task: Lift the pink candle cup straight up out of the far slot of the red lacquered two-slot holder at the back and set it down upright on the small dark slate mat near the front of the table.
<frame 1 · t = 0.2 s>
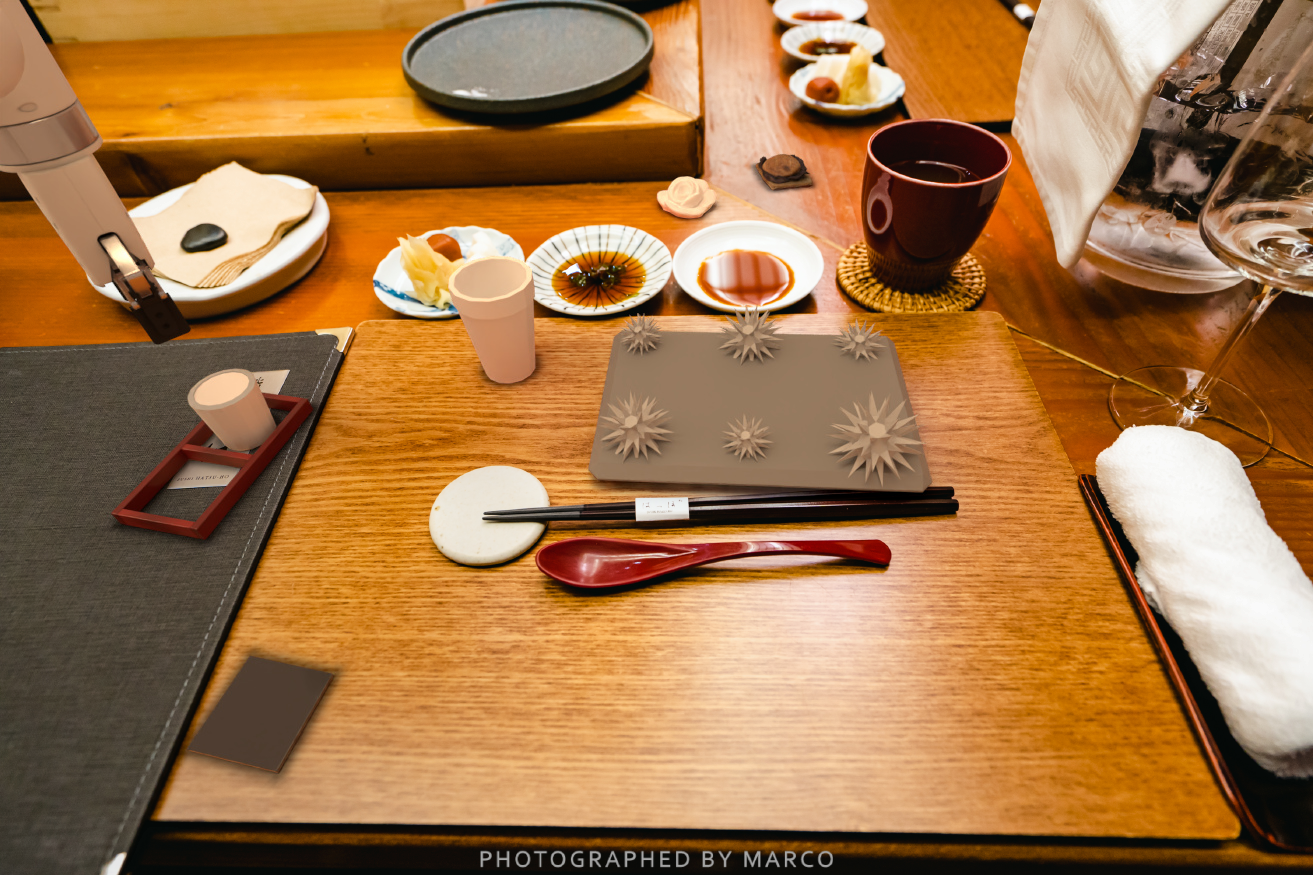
hand: (157, 315, 65), 17 cm above the counter, tool pointing down, fingers open, 9 cm apart
slate mat: (264, 711, 56), on the counter
pink candle cup: (251, 434, 79), resting in holder
holder: (224, 462, 75), on the counter
foam cup: (511, 368, 86), on the counter
decorative tray: (752, 416, 79), on the counter
rose: (686, 206, 115), on the counter
chocolate cookie: (783, 177, 122), on the counter
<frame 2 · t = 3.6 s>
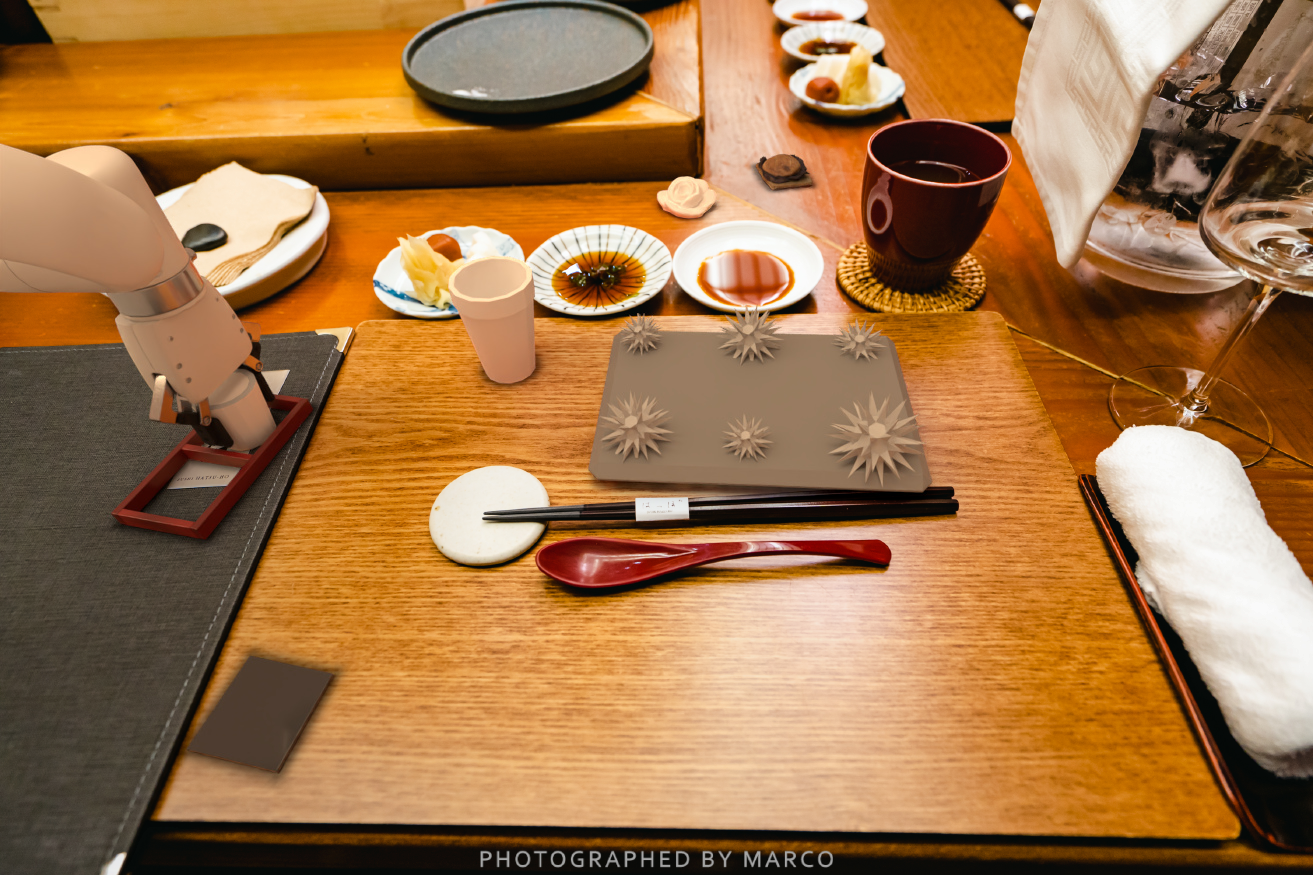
hand: (242, 420, 77), 2 cm above the counter, tool pointing down, fingers closed on pink candle cup, 6 cm apart
pink candle cup: (251, 434, 79), resting in holder, touching gripper
everything else where it was.
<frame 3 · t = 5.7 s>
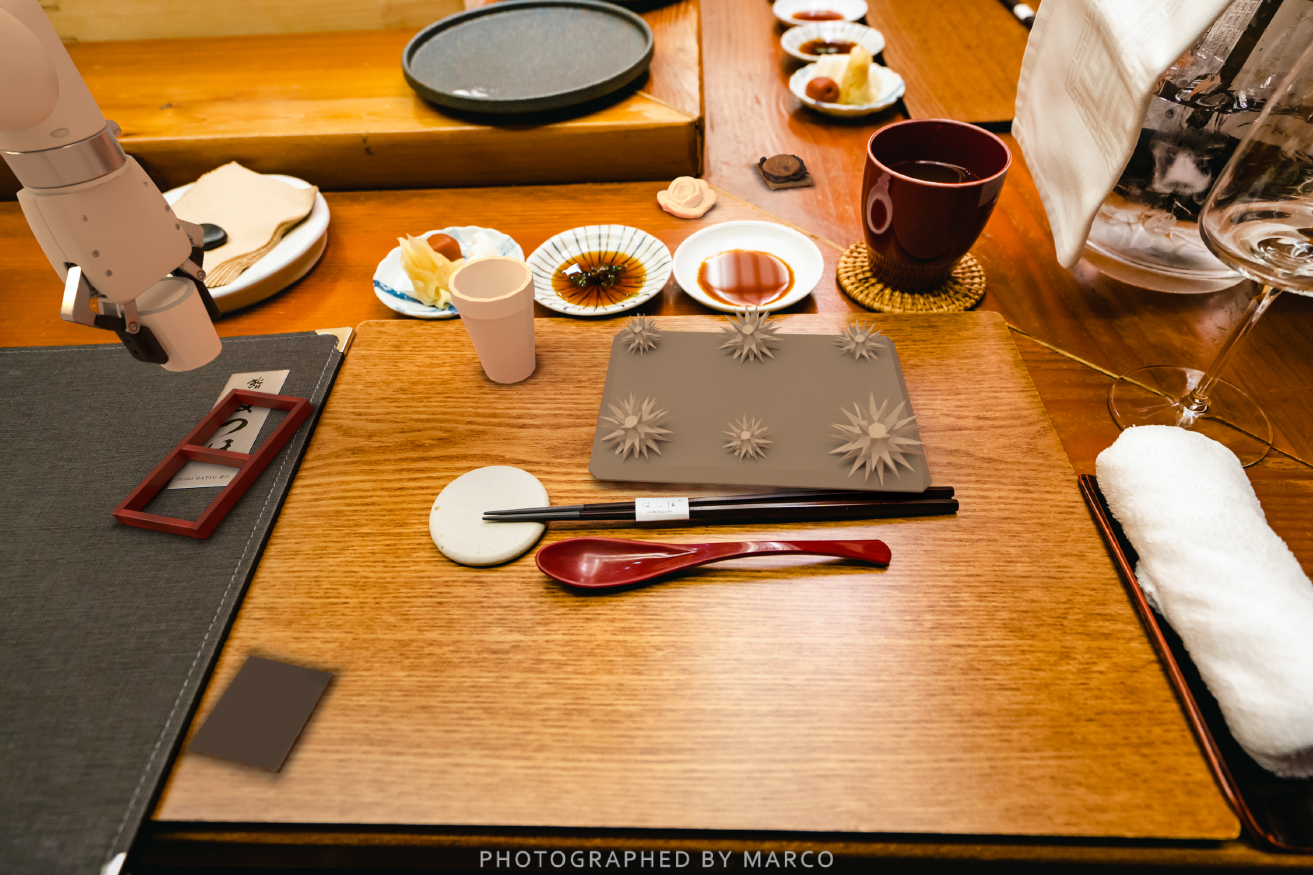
hand: (181, 336, 67), 15 cm above the counter, tool pointing down, fingers closed on pink candle cup, 6 cm apart
pink candle cup: (193, 355, 69), point 12 cm above the counter, touching gripper
everything else where it was.
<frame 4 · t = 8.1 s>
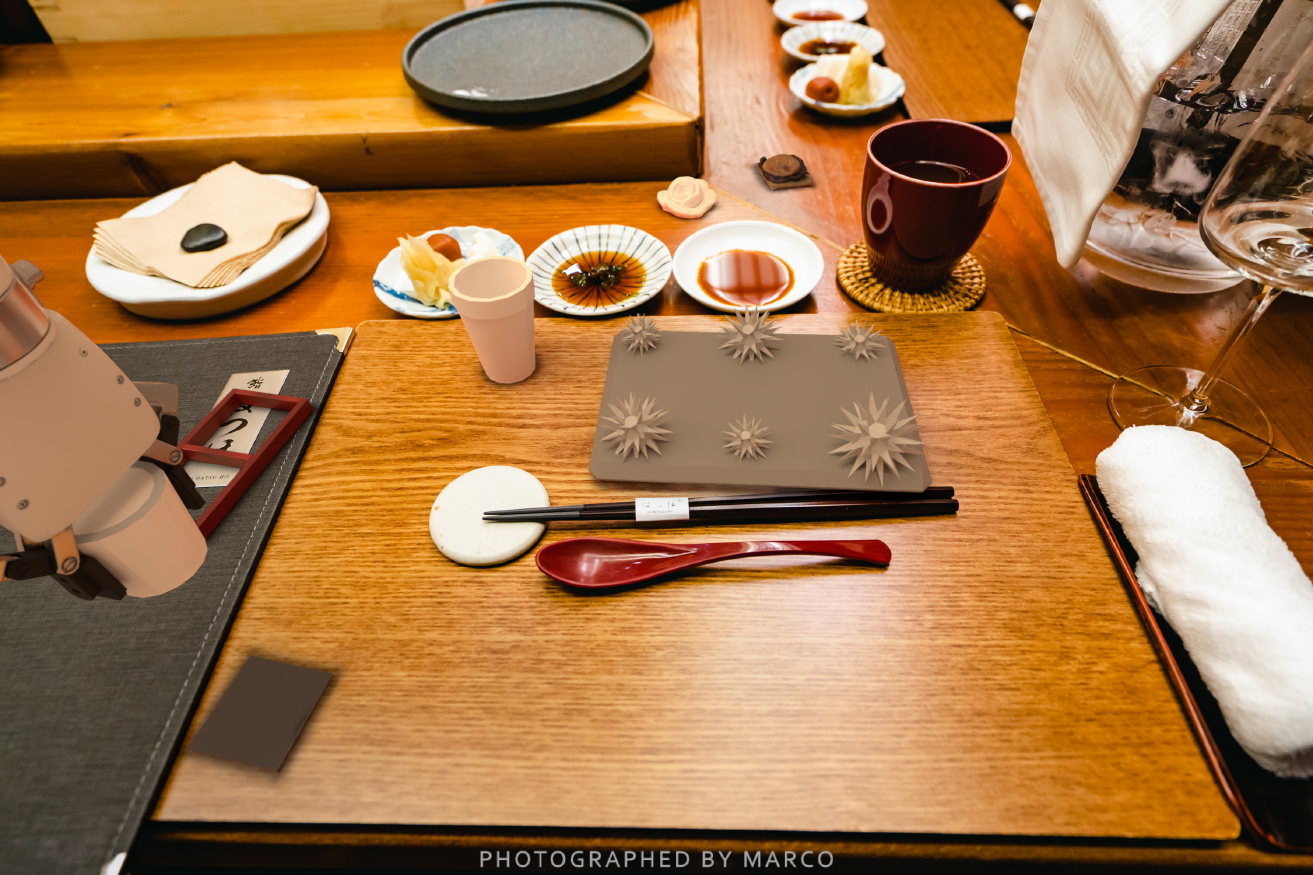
hand: (146, 545, 46), 17 cm above the counter, tool pointing down, fingers closed on pink candle cup, 6 cm apart
pink candle cup: (165, 564, 48), point 15 cm above the counter, touching gripper
everything else where it was.
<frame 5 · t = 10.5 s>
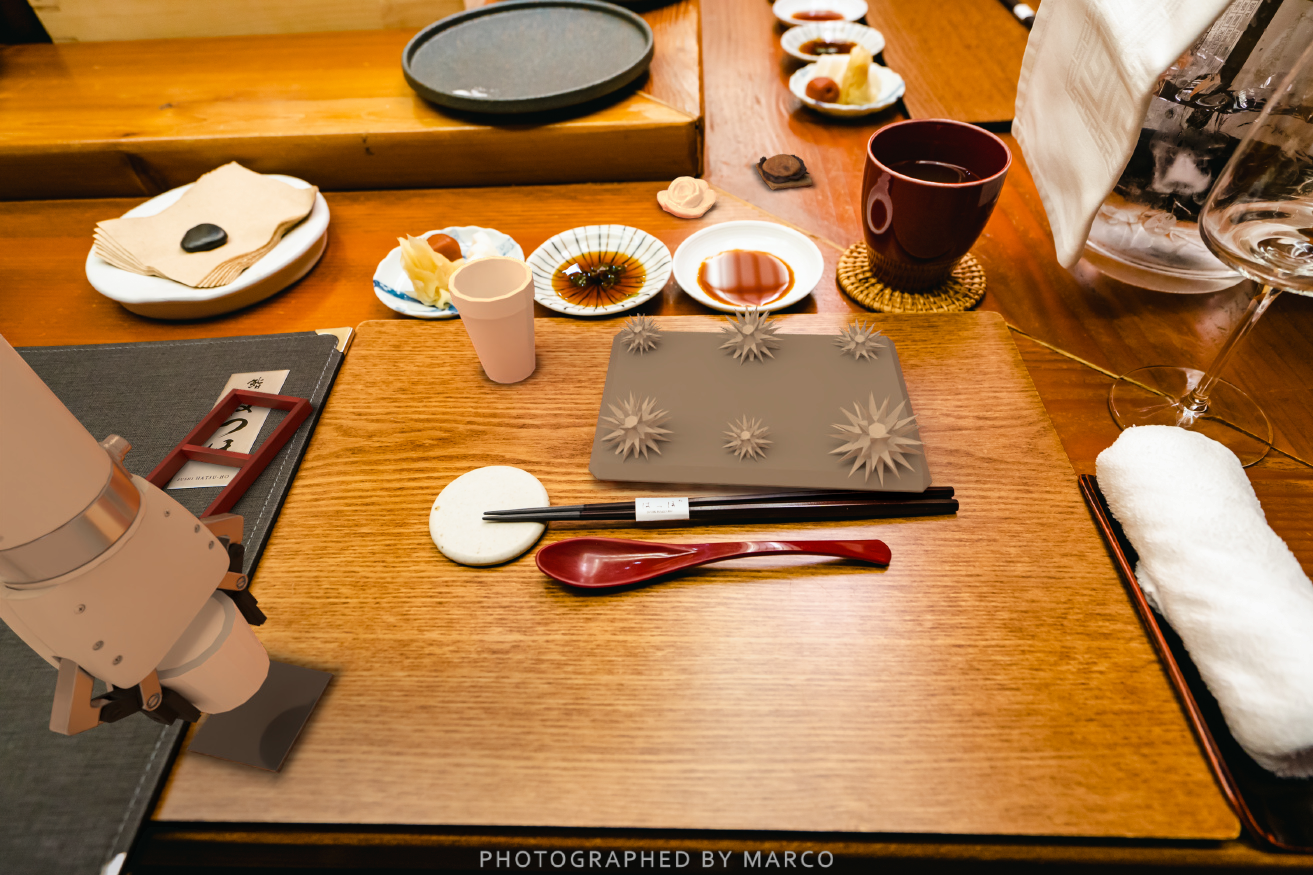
hand: (215, 663, 50), 8 cm above the counter, tool pointing down, fingers closed on pink candle cup, 6 cm apart
pink candle cup: (231, 677, 51), point 6 cm above the counter, touching gripper
everything else where it was.
when the fingers open (2 cm above the counter, at t = 12.5 s): pink candle cup stays where it is, resting on slate mat.
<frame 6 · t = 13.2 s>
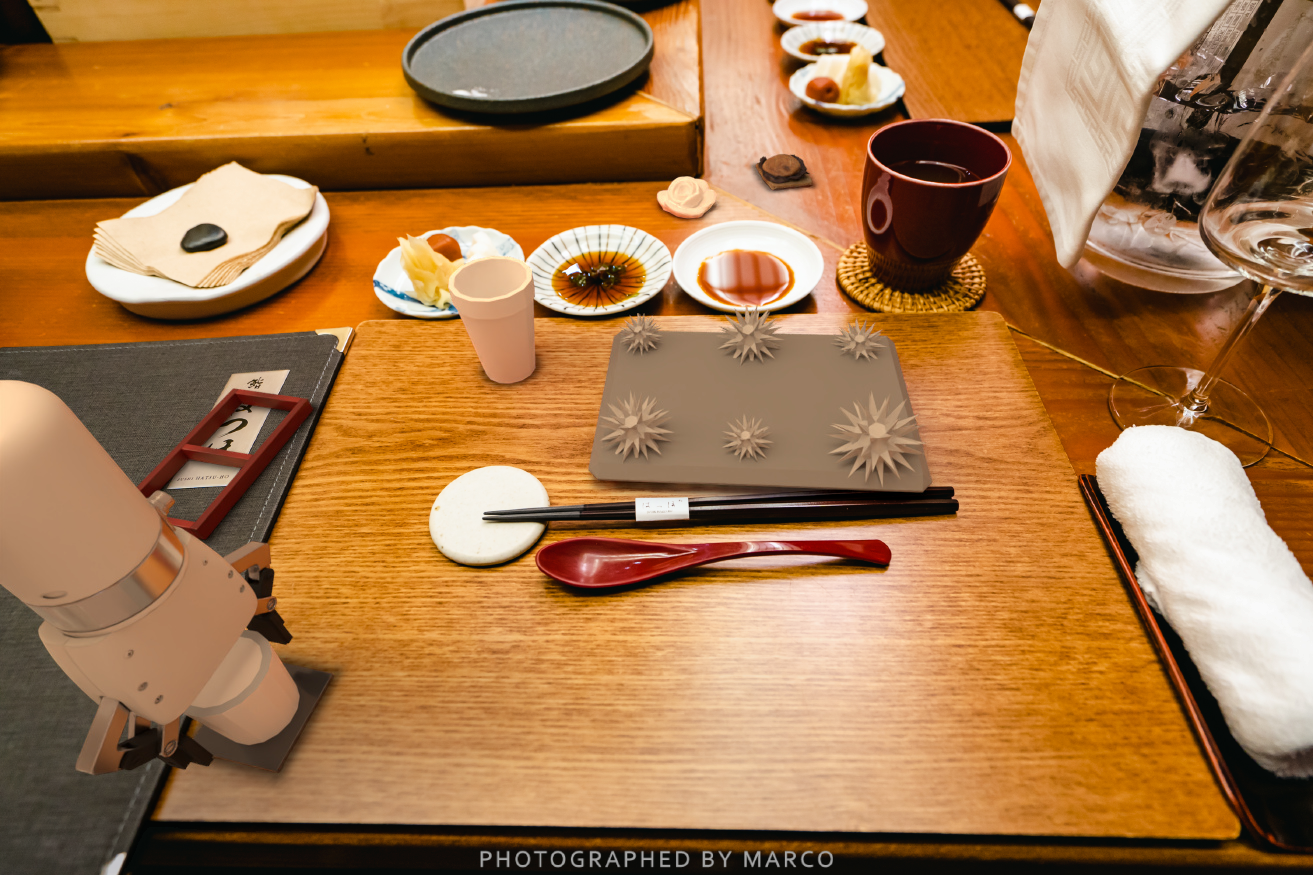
hand: (237, 694, 52), 4 cm above the counter, tool pointing down, fingers open, 9 cm apart
pink candle cup: (264, 710, 55), resting on slate mat
everything else where it was.
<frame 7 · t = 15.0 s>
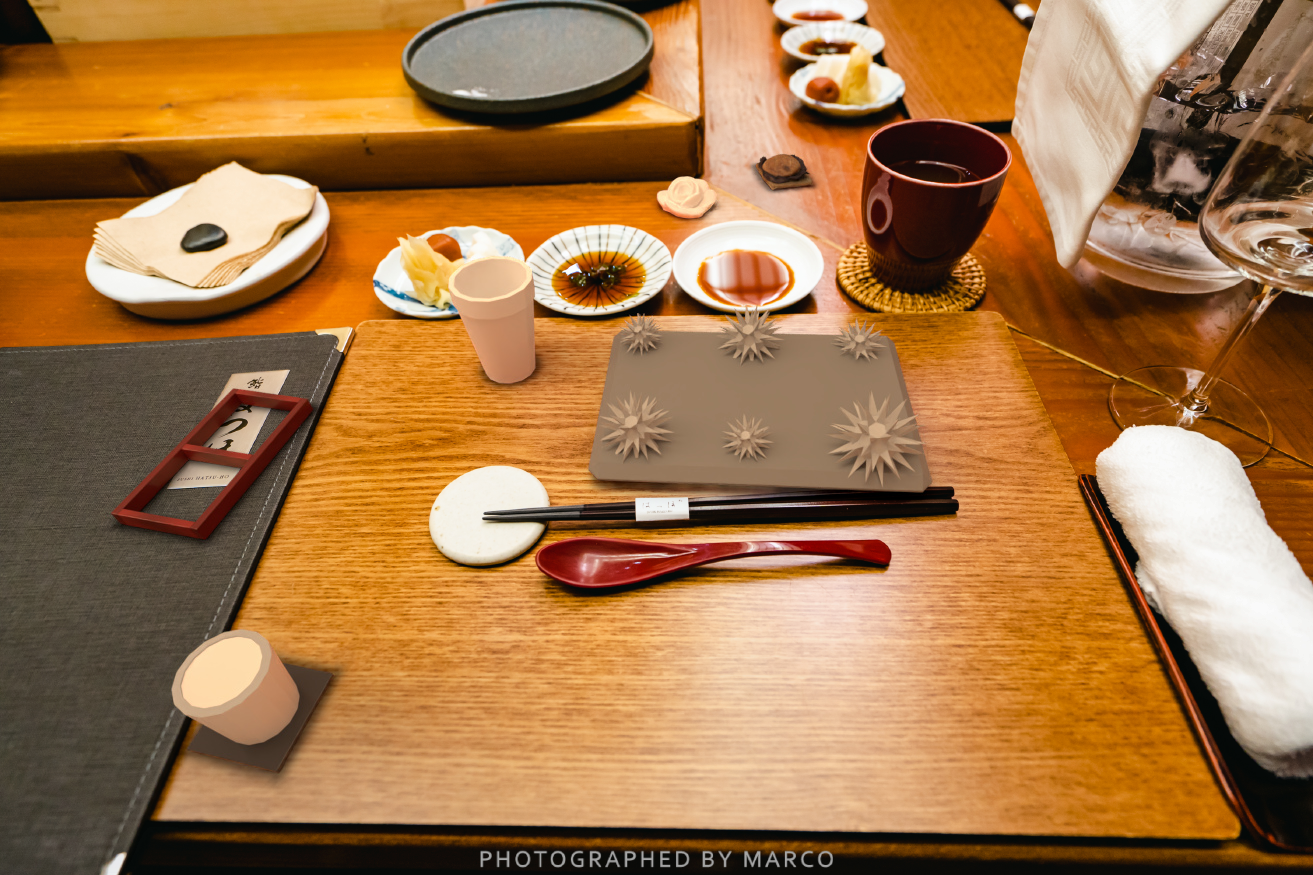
nothing on the counter moved.
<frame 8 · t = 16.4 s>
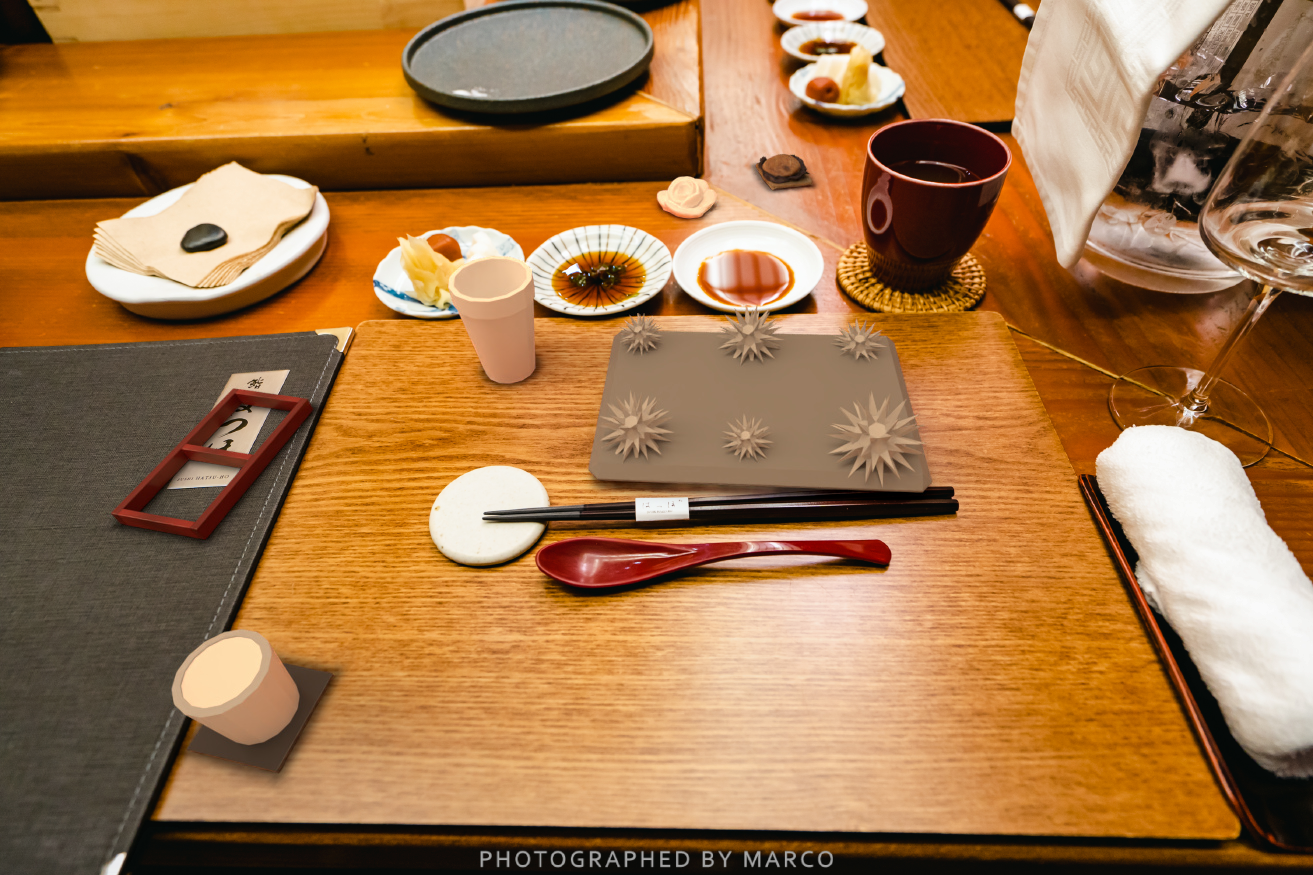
nothing on the counter moved.
at the end: pink candle cup inside the target area on the slate mat (0.1 cm from its centre), point 0.2 cm above the slate mat's base; pink candle cup tilted 0°; pink candle cup touching slate mat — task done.
